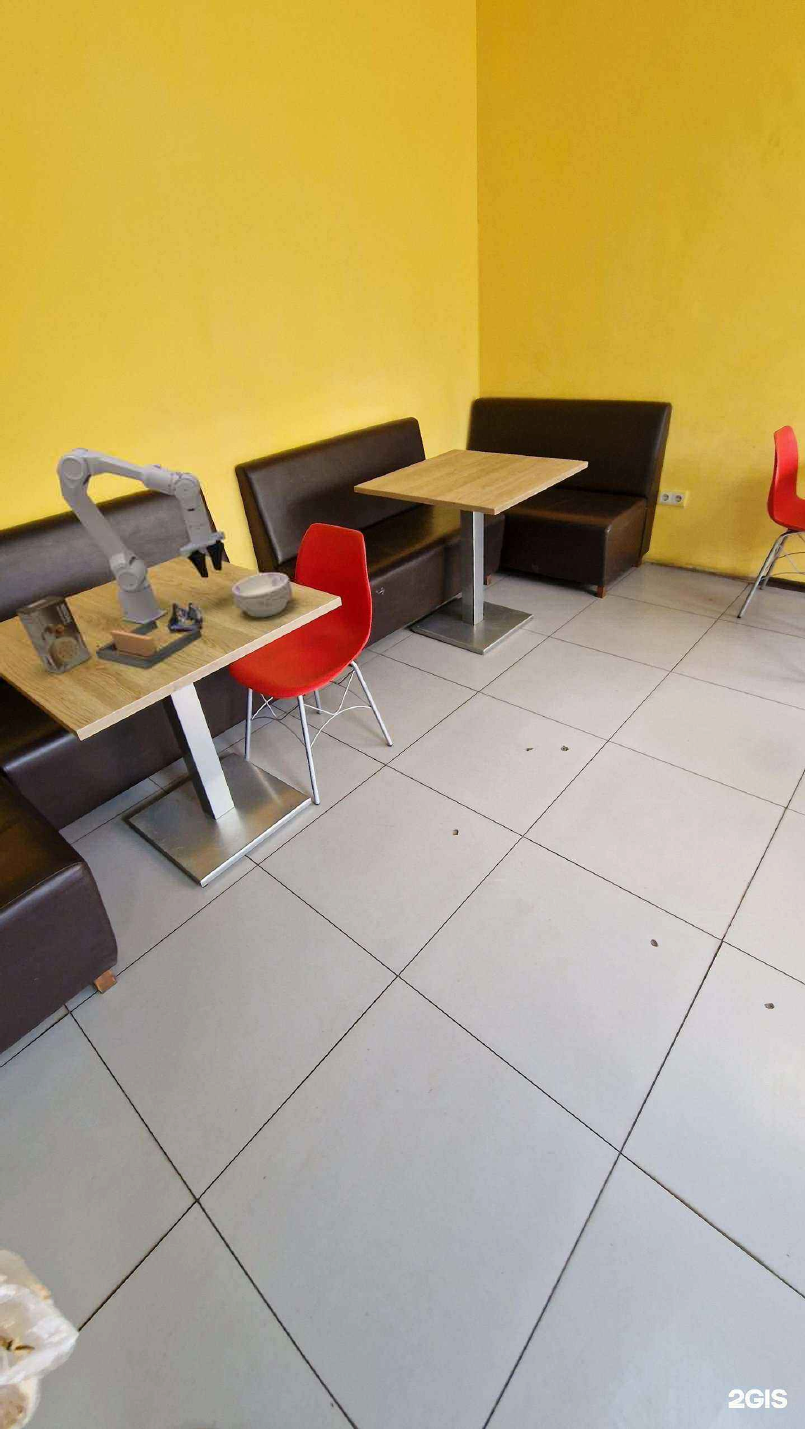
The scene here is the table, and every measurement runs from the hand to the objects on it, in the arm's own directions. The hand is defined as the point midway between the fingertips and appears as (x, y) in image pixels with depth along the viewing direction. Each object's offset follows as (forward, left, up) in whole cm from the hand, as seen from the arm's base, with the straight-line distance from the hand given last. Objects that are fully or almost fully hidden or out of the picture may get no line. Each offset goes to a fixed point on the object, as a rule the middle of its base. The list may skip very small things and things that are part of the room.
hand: (211, 573), depth 170 cm
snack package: (0, -12, -10) cm, 16 cm away
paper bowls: (+16, +1, -10) cm, 18 cm away
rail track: (0, -25, -9) cm, 26 cm away
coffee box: (-14, -40, -10) cm, 43 cm away
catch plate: (0, -30, -9) cm, 31 cm away
